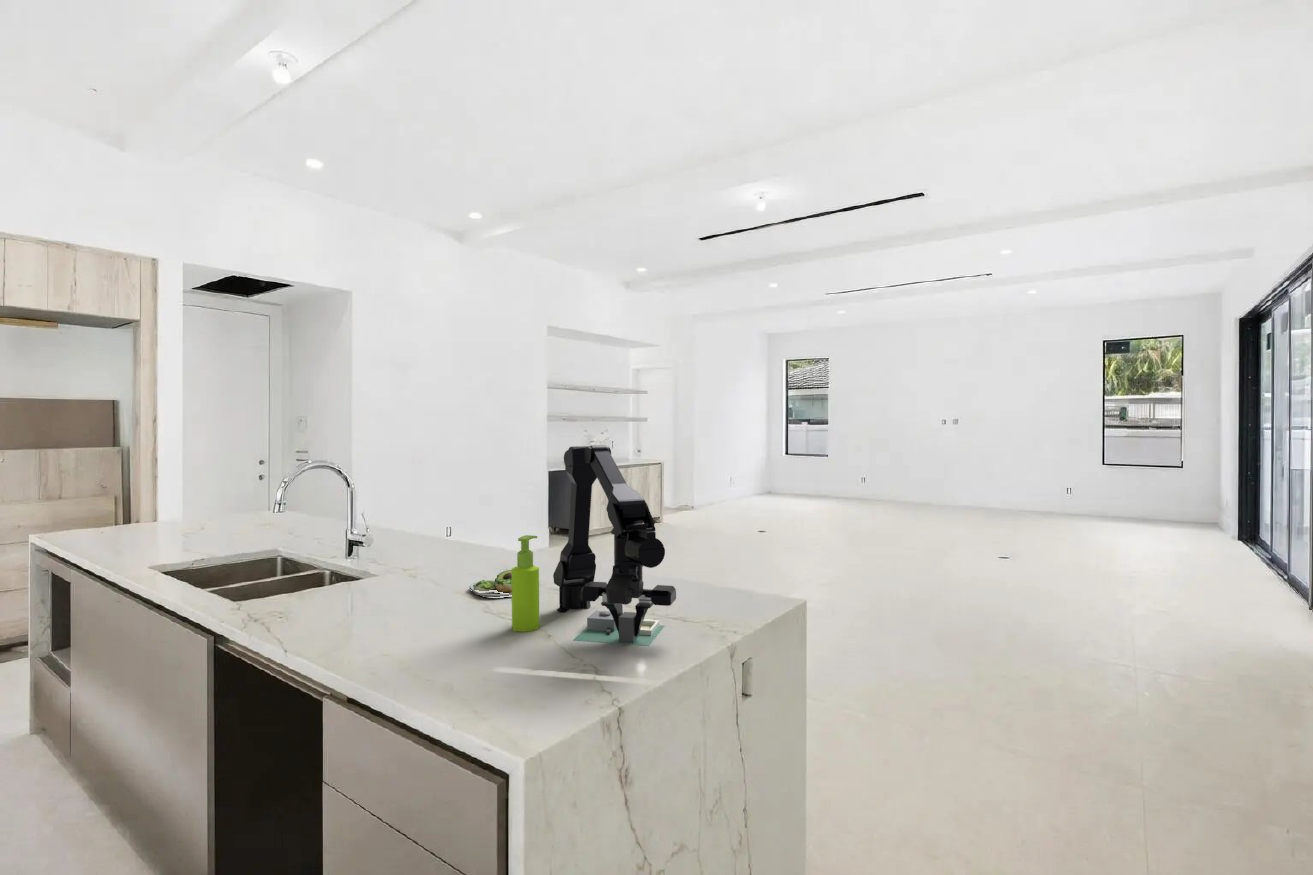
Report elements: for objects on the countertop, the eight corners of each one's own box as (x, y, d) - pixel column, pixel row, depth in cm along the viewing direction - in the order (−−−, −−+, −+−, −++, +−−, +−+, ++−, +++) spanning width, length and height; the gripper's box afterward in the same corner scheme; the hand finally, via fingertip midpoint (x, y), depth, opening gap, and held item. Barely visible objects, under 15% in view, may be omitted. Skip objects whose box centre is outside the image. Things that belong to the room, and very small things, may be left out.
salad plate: (551, 596, 181) (551, 579, 181) (482, 605, 173) (482, 587, 173) (528, 582, 198) (528, 565, 198) (465, 589, 190) (465, 572, 190)
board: (572, 644, 141) (572, 625, 141) (595, 624, 155) (595, 607, 155) (648, 649, 137) (648, 631, 137) (665, 628, 151) (665, 611, 151)
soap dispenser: (546, 623, 156) (545, 534, 155) (530, 632, 149) (530, 539, 149) (523, 621, 158) (522, 533, 157) (506, 630, 151) (506, 538, 151)
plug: (618, 641, 140) (618, 617, 140) (625, 634, 145) (625, 610, 145) (633, 642, 139) (633, 618, 139) (639, 635, 144) (639, 611, 144)
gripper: (570, 564, 136) (571, 644, 136) (664, 569, 131) (664, 651, 132) (589, 554, 146) (590, 628, 147) (676, 557, 142) (676, 633, 142)
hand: (628, 635), depth 142 cm, fingers closed on plug, 3 cm apart
